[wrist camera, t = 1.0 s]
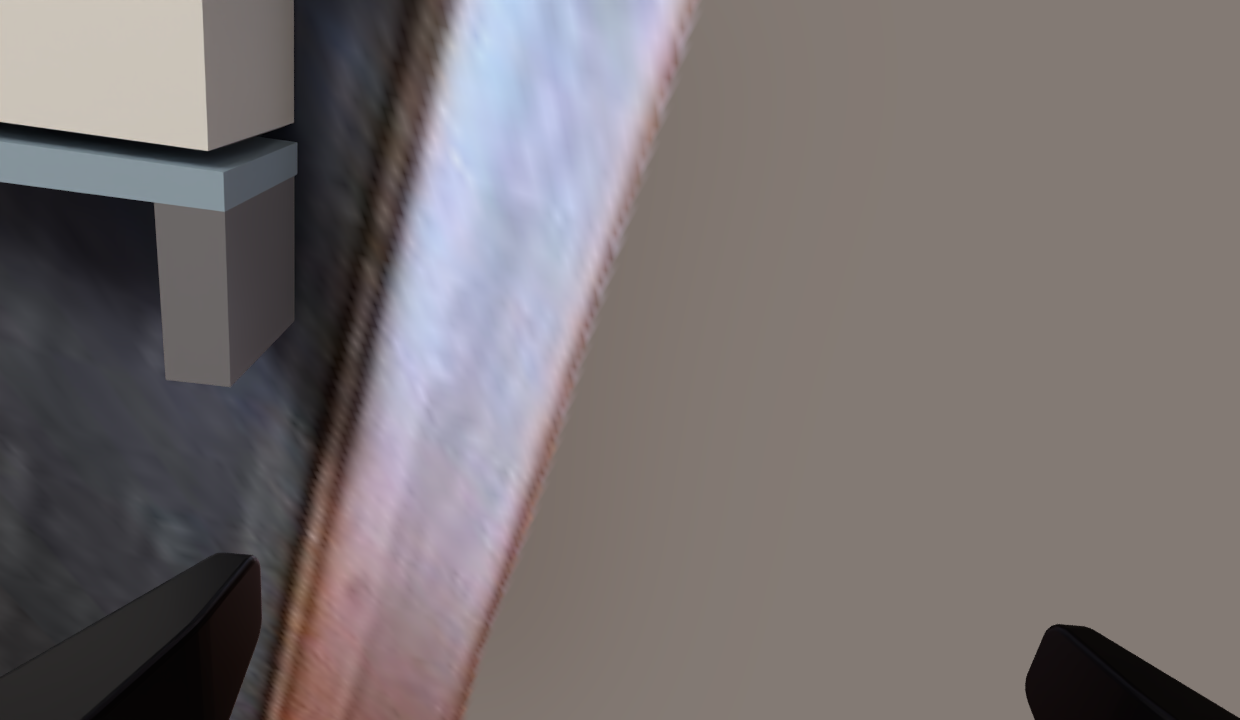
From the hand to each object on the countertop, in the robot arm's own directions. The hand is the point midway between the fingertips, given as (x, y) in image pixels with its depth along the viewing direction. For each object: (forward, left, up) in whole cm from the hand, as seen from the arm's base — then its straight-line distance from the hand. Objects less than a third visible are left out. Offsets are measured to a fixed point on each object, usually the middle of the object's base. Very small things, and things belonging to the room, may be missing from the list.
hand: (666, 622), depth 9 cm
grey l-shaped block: (+1, +11, -11) cm, 16 cm away
